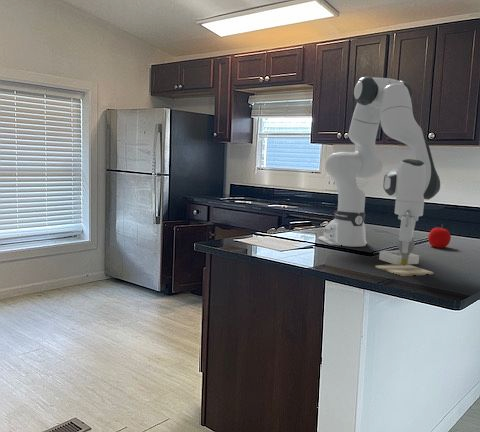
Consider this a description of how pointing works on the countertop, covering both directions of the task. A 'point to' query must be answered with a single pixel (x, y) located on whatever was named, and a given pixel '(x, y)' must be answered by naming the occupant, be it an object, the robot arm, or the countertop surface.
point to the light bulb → (405, 255)
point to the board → (404, 269)
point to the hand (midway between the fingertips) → (405, 251)
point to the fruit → (439, 237)
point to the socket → (397, 257)
